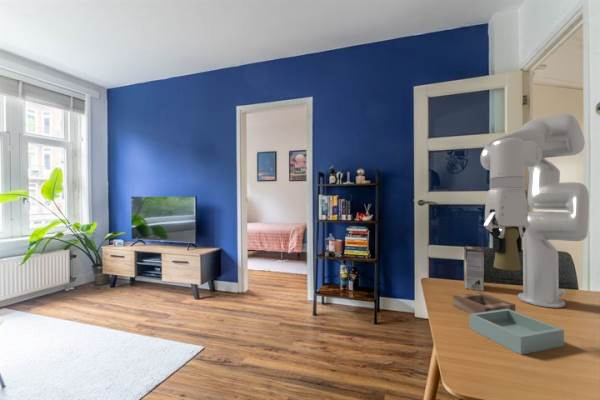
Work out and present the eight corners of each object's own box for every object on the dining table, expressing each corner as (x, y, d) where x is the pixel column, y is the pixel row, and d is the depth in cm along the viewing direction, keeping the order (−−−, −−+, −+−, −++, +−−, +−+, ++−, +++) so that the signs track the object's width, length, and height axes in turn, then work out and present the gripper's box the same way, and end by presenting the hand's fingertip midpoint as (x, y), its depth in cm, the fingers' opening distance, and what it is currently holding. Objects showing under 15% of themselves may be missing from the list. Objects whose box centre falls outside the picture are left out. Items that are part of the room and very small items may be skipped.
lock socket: (480, 302, 99) (480, 292, 99) (515, 315, 87) (515, 304, 87) (452, 306, 96) (452, 295, 96) (484, 320, 84) (484, 308, 84)
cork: (526, 271, 73) (526, 228, 73) (499, 269, 74) (499, 227, 74) (513, 266, 79) (513, 226, 79) (489, 264, 80) (489, 226, 80)
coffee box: (463, 283, 122) (463, 245, 122) (481, 285, 120) (481, 246, 120) (465, 289, 114) (465, 249, 114) (484, 291, 111) (484, 250, 111)
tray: (507, 322, 83) (507, 308, 83) (563, 346, 69) (563, 329, 69) (469, 328, 79) (469, 314, 79) (520, 354, 65) (520, 337, 65)
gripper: (517, 186, 83) (517, 249, 82) (469, 185, 78) (469, 251, 78) (545, 184, 75) (545, 253, 75) (494, 183, 71) (495, 256, 71)
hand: (507, 251), depth 77 cm, fingers closed on cork, 4 cm apart
